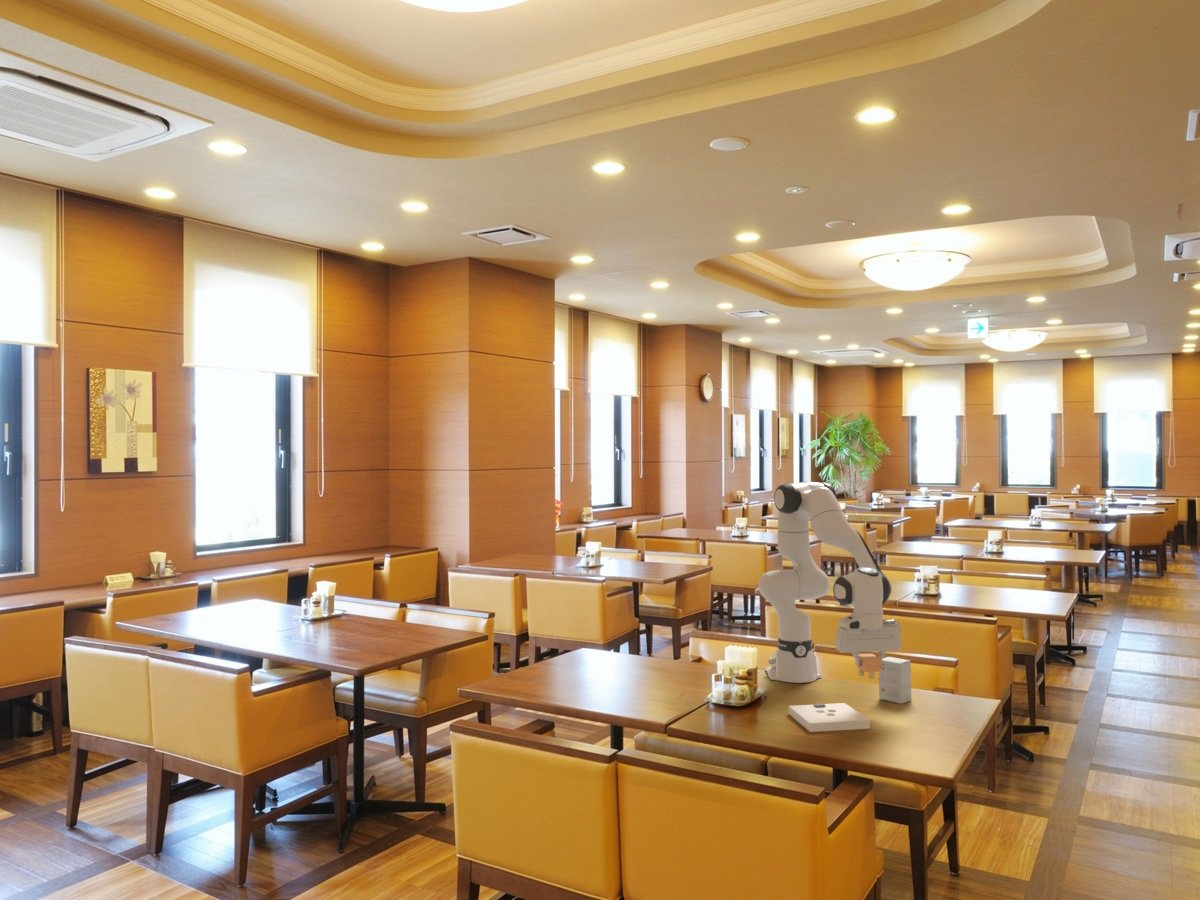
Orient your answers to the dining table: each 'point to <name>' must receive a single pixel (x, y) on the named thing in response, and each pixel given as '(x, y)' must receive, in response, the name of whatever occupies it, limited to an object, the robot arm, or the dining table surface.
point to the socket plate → (828, 717)
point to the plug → (869, 665)
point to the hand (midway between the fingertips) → (868, 665)
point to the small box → (895, 680)
